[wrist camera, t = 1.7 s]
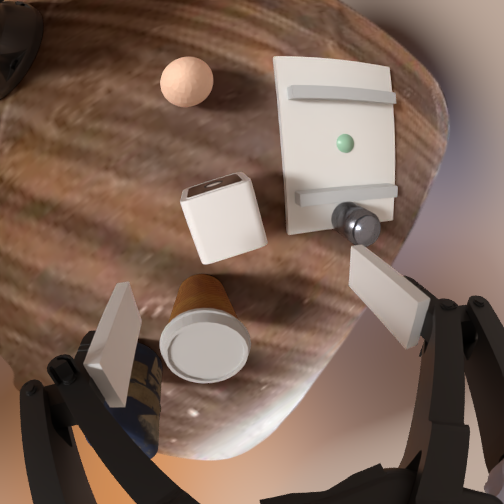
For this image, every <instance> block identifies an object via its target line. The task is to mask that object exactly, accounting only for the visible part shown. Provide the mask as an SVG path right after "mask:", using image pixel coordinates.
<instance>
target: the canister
mask: <svg viewBox="0 0 504 504" xmlns="http://www.w3.org/2000/svg"><path fill="white" fill-rule="evenodd" d="M161 382H162V363H161V360H160V358H159V357H158V356H157V354H156V353H155V352H154V351H153V350H152V349H150V348H149V347H147V346H145V345H143V344H141V343H138V342H137V346H136V350H135V355H134V360H133V365H132V371H131V376H130V381H129V387H128V393H127V399H126V405H125V407H109V405H108V404H107V402H106V401H104V406H105V407H106V408H107V410H108V411H109V412H110V414H111V415H112V416H113V417H114V419H115V420H116V421H117V422H118V423H119V425H120V426H121V427H122V428H123V430H124V431H125V432H126V433H127V434H128V435H129V437H130V438H131V439H132V440H133V441H134V442H135V443H136V444H137V446H138V447H139V448H140V449H141V450H142V451H143V452H144V453H145V454H146V455H147V456H148V457H149V458H150V459H151V458H153V457H154V456H155V455H156V453H157V451H158V441H159V419H160V412H161V405H160V397H161ZM86 440H87V438H86ZM87 441H88V440H87ZM88 443H89V441H88ZM89 444H90V443H89ZM90 445H91V444H90Z"/></svg>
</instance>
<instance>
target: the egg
mask: <svg viewBox="0 0 504 504" xmlns="http://www.w3.org/2000/svg"><path fill="white" fill-rule="evenodd" d="M160 85H161V90H162V93H163V95H164V97H165V98H166V99H167V100H168V101H169V102H171V103H172V104H174V105H176V106H179V107H191V106H194V105H197V104H199V103H201V102H202V101H203V100H205V99H206V98H207V96H208V95H209V94H210V92H211V90H212V86H213V74H212V71H211V69H210V68H209V66H208V65H207V64H206V63H205V62H204V61H202V60H200V59H198V58H195V57H182V58H179V59H176V60H174V61H173V62H171V63H170V64H169V65H168V66H167V67H166V68H165V70H164V71H163V73H162V76H161V81H160Z"/></svg>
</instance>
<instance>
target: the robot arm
mask: <svg viewBox="0 0 504 504" xmlns="http://www.w3.org/2000/svg"><path fill="white" fill-rule="evenodd" d="M42 34H43V19H42V16H41V14H40V12H39V11H38V10H37V9H36V8H35V7H33V6H31V5H30V4H28V3H26V2H18V1H17V2H13V1H4V0H0V99H1V98H3V97H4V96H6V95H7V94H8V93H9V92H11V91H12V90H13V89H14V88H15V87H16V86H17V84H18V83H19V82H20V81H21V79H22V78H23V77H24V75H25V74H26V72H27V71H28V69H29V68H30V66H31V64H32V62H33V60H34V58H35V56H36V54H37V52H38V49H39V46H40V43H41V39H42ZM349 287H350V288H351V289H352V290H353V291H354V292H355V293H356V294H357V295H358V296H359V297H360V298H361V300H362V301H363V302H364V303H365V304H366V305H367V306H368V307H369V308H370V309H371V311H372V312H373V313H374V314H375V315H376V316H377V317H378V318H379V320H380V321H381V322H382V323H383V324H384V325H385V326H386V327H387V329H388V330H389V331H390V332H391V333H392V334H393V335H394V336H395V338H396V339H397V340H398V341H399V342H400V344H401V345H402V346H403V347H404V348H405V349H408V348H411V347H413V346H416V345H417V344H418V341H419V338H420V335H421V336H422V337H423V338H424V339H425V340H424V343H423V346H422V349H421V352H420V355H419V356H420V357H421V355H422V359H421V367H420V376H419V383H418V390H417V397H416V402H415V408H414V413H413V419H412V423H411V428H410V432H409V437H408V441H407V445H406V449H405V453H404V456H403V459H402V461H401V463H400V465H399V467H398V468H384V469H383V468H382V466H381V464H377V465H375V466H373V467H370V468H368V469H365V470H363V471H360V472H358V473H355V474H353V475H351V476H350V477H348V478H347V479H345V480H344V481H342V482H340V483H339V484H337V485H335V486H334V487H332V488H330V489H329V490H326V491H322V492H309V493H290V494H286V495H282V496H277V497H273V498H267V499H262V500H260V504H504V327H503V325H502V324H501V322H500V320H499V319H498V317H497V315H496V313H495V312H494V310H493V309H492V307H491V305H490V304H489V302H488V301H487V300H486V299H485V298H483V297H481V296H471V297H470V298H469V300H468V303H467V305H462V306H458V305H457V304H456V303H455V302H454V301H452V300H449V299H437V298H436V297H435V296H434V295H432V294H431V293H430V292H429V291H428V290H426V289H424V287H423V286H421V285H419V284H418V282H416V281H415V280H414V279H412V278H410V277H407V276H402V275H401V274H400V273H398V272H397V271H396V270H394V269H393V268H392V267H391V266H390V265H388V264H387V263H386V262H384V261H383V260H382V259H380V258H379V257H378V256H377V255H375V254H374V253H373V252H371V251H370V250H369V249H367V248H366V247H365V246H363V245H362V244H361V245H355V246H351V259H350V274H349ZM141 323H142V320H141V317H140V314H139V311H138V308H137V305H136V302H135V299H134V296H133V293H132V290H131V286H130V283H129V282H122V283H117V284H116V286H115V288H114V291H113V293H112V295H111V297H110V299H109V302H108V304H107V306H106V308H105V311H104V313H103V315H102V318H101V320H100V322H99V325H98V327H97V330H96V331H89V332H88V333H87V334H86V335H85V336H84V337H83V339H82V342H81V344H80V346H79V349H78V352H77V354H76V356H75V358H74V359H73V358H72V357H71V356H70V355H66V354H64V355H59V356H57V357H55V358H54V359H52V360H51V361H50V363H49V364H48V367H47V372H48V374H49V375H50V377H51V378H52V380H53V381H54V383H55V384H53V385H49V386H45V387H44V386H43V385H42V383H41V382H40V381H39V380H30V381H28V382H26V383H25V384H24V385H23V386H22V388H21V390H20V417H21V432H22V442H23V450H24V458H25V465H26V471H27V476H28V481H29V486H30V490H31V495H32V500H33V503H34V504H97V503H96V500H95V498H94V495H93V493H92V490H91V488H90V485H89V483H88V480H87V477H86V474H85V471H84V468H83V465H82V462H81V459H80V456H79V452H78V449H77V446H76V442H75V438H74V434H73V430H72V427H71V426H74V425H79V427H80V429H81V430H82V432H83V433H84V435H85V437H86V438H87V440H88V441H89V443H90V444H91V446H92V447H93V448H94V450H95V452H96V453H97V454H98V456H99V457H100V459H101V460H102V462H103V463H104V464H105V466H106V467H107V468H108V470H109V471H110V472H111V474H112V475H113V476H114V477H115V479H116V480H117V481H118V482H119V484H120V485H121V486H122V487H123V489H124V490H125V491H126V492H127V493H128V494H129V496H130V497H131V498H132V499H133V500H134V501H135V502H136V503H137V504H200V503H198V502H197V501H196V500H195V499H194V498H192V497H191V496H190V495H189V494H188V493H186V492H185V491H184V490H182V489H181V488H180V487H179V486H178V485H176V484H175V483H174V482H173V481H172V480H171V479H170V478H169V477H168V476H167V475H166V474H165V473H164V472H162V470H160V469H159V468H158V467H157V465H155V463H154V462H153V461H152V460H151V459H150V458H149V457H148V456H147V455H146V454H145V453H144V452H143V451H142V450H141V449H140V448H139V447H138V446H137V444H136V443H135V442H134V441H133V440H132V439H131V438H130V437H129V435H128V434H127V433H126V432H125V431H124V430H123V428H122V427H121V426H120V425H119V423H118V422H117V421H116V420H115V419H114V417H113V416H112V415H111V414H110V412H109V411H108V410H107V408H106V407H105V406H104V401H106V402H107V404H108V405H109V407H125V405H126V399H127V393H128V387H129V381H130V376H131V371H132V365H133V360H134V355H135V350H136V346H137V341H138V336H139V332H140V327H141ZM464 372H465V374H464ZM465 375H466V378H467V382H468V385H469V389H470V392H471V396H472V400H473V404H474V408H475V412H476V417H477V421H478V426H479V431H480V436H481V442H482V447H483V453H484V458H485V463H486V466H487V469H488V473H489V476H488V481H487V483H486V484H485V486H484V490H485V492H486V493H483V492H479V491H475V490H471V489H467V488H464V487H463V484H464V479H465V473H466V465H467V458H468V449H469V436H470V428H469V425H464V404H465V377H464V376H465Z"/></svg>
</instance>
